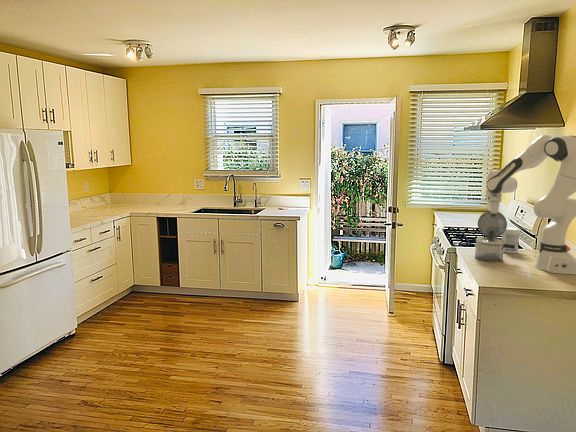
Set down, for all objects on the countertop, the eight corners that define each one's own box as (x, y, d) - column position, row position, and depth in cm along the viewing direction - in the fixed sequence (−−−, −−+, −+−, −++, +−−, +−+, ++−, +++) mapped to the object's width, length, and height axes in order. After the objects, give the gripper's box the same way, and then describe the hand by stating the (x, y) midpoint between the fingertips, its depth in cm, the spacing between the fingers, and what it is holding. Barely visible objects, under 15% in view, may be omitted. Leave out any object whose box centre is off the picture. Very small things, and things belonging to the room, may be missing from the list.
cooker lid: (505, 239, 273) (505, 239, 276) (508, 211, 273) (508, 212, 276) (476, 236, 280) (476, 236, 283) (479, 209, 279) (479, 209, 282)
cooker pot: (512, 258, 273) (514, 240, 271) (513, 265, 259) (515, 246, 257) (475, 253, 282) (476, 236, 280) (473, 260, 268) (475, 241, 266)
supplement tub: (520, 252, 287) (523, 229, 284) (510, 254, 283) (512, 230, 280) (507, 249, 296) (509, 226, 293) (497, 250, 291) (499, 227, 289)
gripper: (485, 194, 293) (483, 215, 295) (490, 198, 273) (487, 221, 276) (496, 194, 291) (494, 216, 293) (501, 198, 271) (499, 221, 274)
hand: (491, 218), depth 284 cm, fingers closed
